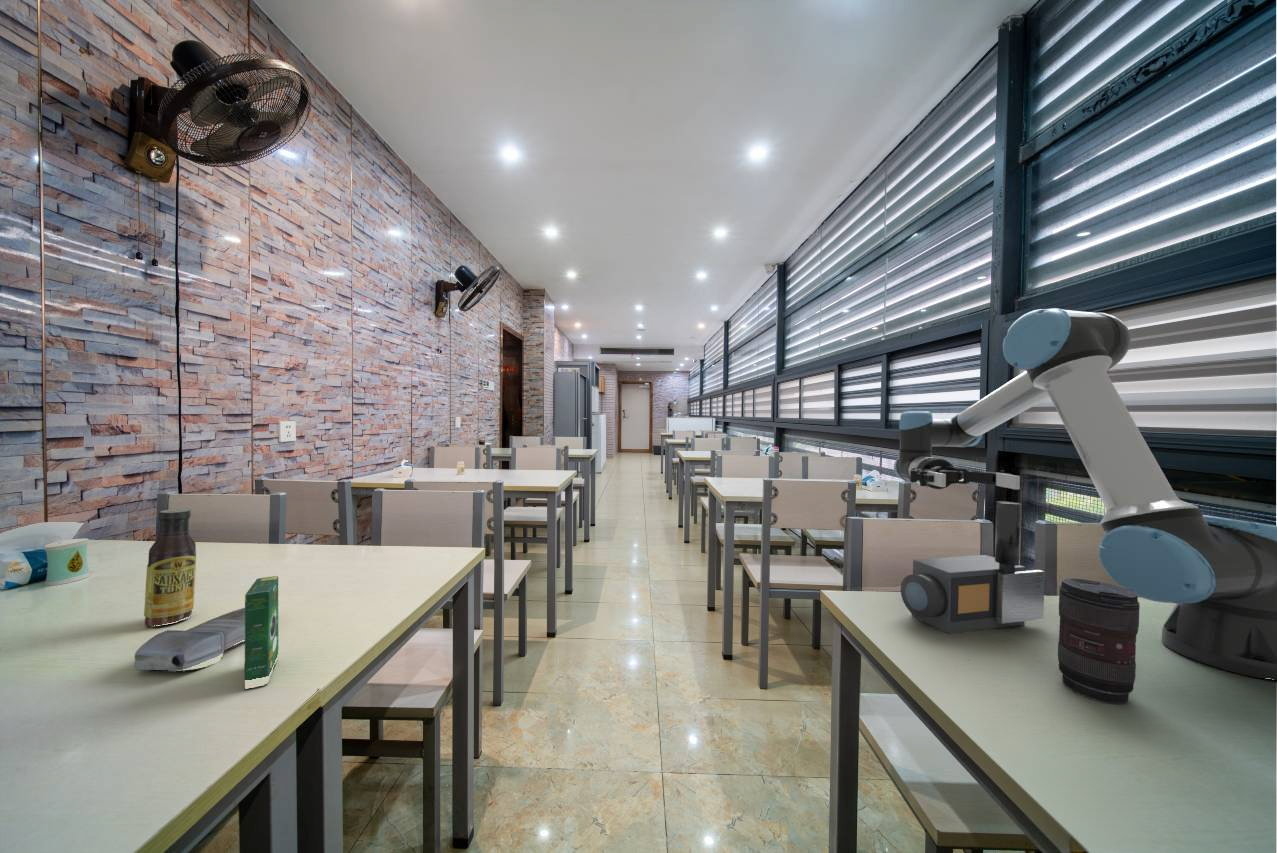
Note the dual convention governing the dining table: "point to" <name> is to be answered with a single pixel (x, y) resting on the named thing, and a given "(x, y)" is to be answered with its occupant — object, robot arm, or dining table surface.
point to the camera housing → (955, 592)
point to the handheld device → (191, 643)
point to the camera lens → (1098, 639)
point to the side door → (1015, 588)
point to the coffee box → (261, 628)
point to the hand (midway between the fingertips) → (980, 481)
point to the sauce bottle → (171, 570)
